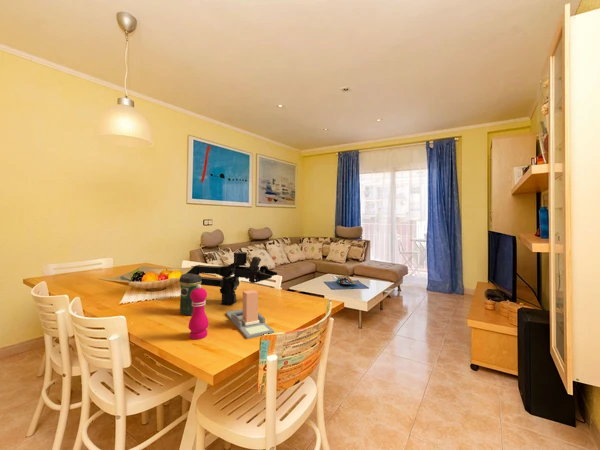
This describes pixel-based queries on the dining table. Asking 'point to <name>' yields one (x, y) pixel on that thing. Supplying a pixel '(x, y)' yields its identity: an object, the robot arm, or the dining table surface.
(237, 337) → the dining table surface
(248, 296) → the salmon pink tall box
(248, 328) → the track
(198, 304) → the pepper mill
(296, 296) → the dining table surface
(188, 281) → the coffee jar
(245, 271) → the robot arm
